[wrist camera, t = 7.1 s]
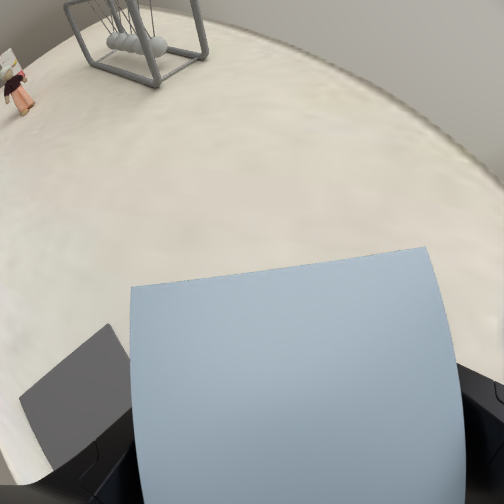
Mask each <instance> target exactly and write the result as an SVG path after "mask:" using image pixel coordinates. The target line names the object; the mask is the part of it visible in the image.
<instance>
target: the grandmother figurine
mask: <svg viewBox="0 0 504 504" xmlns="http://www.w3.org/2000/svg"><path fill="white" fill-rule="evenodd" d="M0 78H1V79H2V80H5V81H7V82H6V84H5V88H4V97H5V100H6V101H5V103H6V104H8V103H9V102H10V100H9V94H11V95H12V98H13V100H14V102H15V105H16V107H17V108H18V110H19V112H21V116H24V115H26V114H27V113H28V111H29V109H28V108H31V107H32V106H33V105H34V104H35V102H34V101H33V100H32V99H31V97H30V96H29V95H28V93H27V92H26V91H25V90H24V88H23V87H22V85H21V84H20V81H23V82H24V83H25V82H27V78H25V77H23V75H15V76H13V69H12V67H11V66H9V65H8V66H5V67H3V68H2V70H1V71H0Z"/></svg>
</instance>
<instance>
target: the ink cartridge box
mask: <svg viewBox="0 0 504 504" xmlns="http://www.w3.org/2000/svg"><path fill="white" fill-rule="evenodd" d="M0 64H1V66H2V68H3V67H5V66H8V65H9V66H11V67H12V69H13V76H15V75H23V77H25V74H24V72H23V70H22V68H21V66H20V65H19V63H18V61H17V59H16V57H15V55H14V53H13V52H12V49H11V48H9V49H8V50H7V51H6V52H5V53H3V54H2V55H1V56H0Z"/></svg>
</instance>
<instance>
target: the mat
mask: <svg viewBox="0 0 504 504" xmlns="http://www.w3.org/2000/svg"><path fill="white" fill-rule="evenodd" d="M19 400H20V402H21V405H22V407H23V409H24V412H25V414H26V417H27V419H28V421H29V423H30V426H31V428H32V430H33V432H34V434H35V436H36V438H37V440H38V442H39V444H40V446H41V448H42V450H43V452H44V454H45V456H46V458H47V459H48V461H49V463H50V465H51V466H52V468H53V470H56V469H57V468H59V467H60V466H62V465H63V464H65V463H66V462H67V461H69V460H70V459H72V458H73V457H74V456H76V455H77V454H78V453H79V452H81V451H82V450H83V449H84V448H85V447H87V446H88V445H89V444H90V443H91V442H92V441H94V440H95V439H96V438H97V437H98V436H99V435H100V434H102V433H103V432H104V431H105V430H106V429H107V428H108V427H110V426H111V425H112V424H113V423H114V422H115V421H116V420H117V419H118V418H120V417H121V416H122V415H123V414H124V413H125V412H126V411H127V410H128V409H130V408H131V407H132V397H131V377H130V359H129V357H128V356H127V354H126V352H125V351H124V349H123V347H122V345H121V344H120V342H119V340H118V338H117V337H116V335H115V333H114V331H113V329H112V327H111V325H110V324H107V325H105V326H104V327H103V328H102V329H100V330H99V331H98V332H97V333H95V334H94V335H93V336H92V337H91V338H89V339H88V340H87V341H86V342H84V343H83V344H82V345H81V346H80V347H78V348H77V349H76V350H75V351H74V352H72V353H71V354H70V355H69V356H67V357H66V358H65V359H64V360H63V361H61V362H60V363H59V364H58V365H57V366H56V367H54V368H53V369H52V370H51V371H50V372H48V373H47V374H46V375H45V376H44V377H43V378H41V379H40V380H39V381H38V382H37V383H35V384H34V385H33V386H32V387H31V388H30V389H29V390H27V391H26V392H25V393H24V394H23V395H22V396H20V397H19ZM95 441H96V440H95Z"/></svg>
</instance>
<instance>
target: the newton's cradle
mask: <svg viewBox="0 0 504 504" xmlns="http://www.w3.org/2000/svg"><path fill="white" fill-rule="evenodd" d="M86 1H88V2H89V1H91V0H71V1H67V2H65V3H64V6H63V7H64V11H65V14H66V16H67V18H68V21H69V23H70V25H71V28H72V30H73V32H74V34H75V36H76V39H77V41H78V43H79V45H80V47H81V49H82V52H83V54H84V56H85V58H86V60H87V61H88V63H89V64H90V65H91V66H93V67H97V68H100V69H103V70H106V71H109V72H112V73H115V74H118V75H121V76H123V77H126V78H129V79H132V80H135V81H137V82H140V83H143V84H145V85H148V86H151V87H154V88H157V87H159V86H160V84H161V80H163V79H165V78H166V77H168V76H169V75H171V74H173V73H174V72H176V71H178V70H179V69H181V68H183V67H185V66H186V65H188V64H190V63H191V62H193V61H195V60H197V59H199V60H203V59H206V58H207V56H208V54H209V48H208V43H207V39H206V34H205V30H204V25H203V21H202V16H201V11H200V7H199V2H198V0H190V3H191V7H192V11H193V16H194V20H195V24H196V29H197V33H198V37H199V41H200V46H201V50H202V53H197V52H193V51H188V50H184V49H179V48H174V47H169V46H167V42H166V41H165V40H164V39H163V38H161V37H155V33H154V25H153V17H152V8H151V0H150V8H151V17H152V25H153V33H154V37H150V36H149V34H148V32H147V31H146V29H145V27H144V26H143V23H142V20H141V17H140V12H139V3H138V7H137V4H136V1H135V0H125V1H126V3H127V7H128V15H129V12H130V15H131V18H132V21H133V24H134V26H135V29H136V32H137V33H136V32H135V30H134V28H133V27H132V25H131V24H130V16H129V20H128V19H127V17H126V16H125V14H124V12H123V11H122V9H121V8H120V6H119V3H117V1H118V0H117V1H116V0H115V2H116V3H117V5H118V9H119V8H120V10H121V11H122V13H123V14H124V16H125V17H126V19H127V21H128V22H129V24H130V30H131V27H132V29H133V30H134V32H135V33H136V34H132V31H131V34H127V32H126V31H125V29H124V28H123V26H122V25H121V18H120V19H119V17H120V11H119V16H118V14H117V11H116V8H115V5H114V3H113V0H107V1H108V3H107V2H106V0H105V2H106V3H107V5H108V4H109V5H108V7H109V8H110V11H111V19H112V15H113V18H114V21H115V23H116V26H117V28H118V31H119V33H118V32H117V30H116V29H115V27H114V26H113V20H112V23H111V21H110V20H109V18H108V17H107V15H106V14H105V12H104V11H103V12H104V14H105V15H106V17H107V18H108V20H109V21H110V23H111V24H112V26H113V31H114V29H115V30H116V32H117V33H110V31H109V30H108V28H107V27H106V26H105V27H106V28H107V30H108V31H109V33H110V34H111V35H110V36H109V37H108V38H107V46H108V47H109V48H110V49H115V50H113V51H112V52H110V53H108V54H107V55H105V56H104V57H102V58H101V59H99V60H97V61H96V62H95V61H93V59H92V58H91V56H90V54H89V52H88V50H87V48H86V45H85V43H84V41H83V39H82V37H81V34H80V32H79V30H78V28H77V25H76V23H75V21H74V18H73V16H72V14H71V11H70V9H69V6H70V5H74V4H78V3H82V2H86ZM95 1H96V0H95ZM96 2H97V1H96ZM137 2H138V0H137ZM97 3H98V2H97ZM89 4H90V3H89ZM90 5H91V4H90ZM98 5H99V4H98ZM99 6H100V5H99ZM91 7H92V5H91ZM92 8H93V7H92ZM100 8H101V7H100ZM93 10H94V8H93ZM101 10H103V9H102V8H101ZM94 11H95V10H94ZM95 12H96V11H95ZM96 14H97V13H96ZM97 15H98V14H97ZM98 17H99V15H98ZM99 18H100V17H99ZM100 20H101V18H100ZM101 21H102V20H101ZM102 23H103V21H102ZM103 24H104V23H103ZM104 25H105V24H104ZM124 31H125V33H124ZM145 31H146V32H145ZM146 33H147V34H148V36H147V35H146ZM116 50H120V51H127V52H130V53H133V52H135V53H137V54H139V55H145V57H146V60H147V63H148V66H149V68H150V71H151V74H152V77H153V79H154V80H152V79H149V78H146V77H143V76H140V75H137V74H134V73H131V72H128V71H125V70H122V69H119V68H115V67H112V66H109V65H105V64H102V63H98V62H99V61H100V60H102V59H103V58H105V57H107V56H108V55H110V54H111V53H113V52H115V51H116ZM165 52H170V53H175V54H179V55H183V56H187V57H191V58H194V59H192V60H191V61H189V62H187V63H185V64H183V65H182V66H180V67H178V68H177V69H175V70H173V71H172V72H170V73H168V74H167V75H165V76H163V77H162V78H161V75H160V73H159V70H158V67H157V64H156V61H155V58H157V57H160V56H162V55H163V54H164V53H165Z"/></svg>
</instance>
